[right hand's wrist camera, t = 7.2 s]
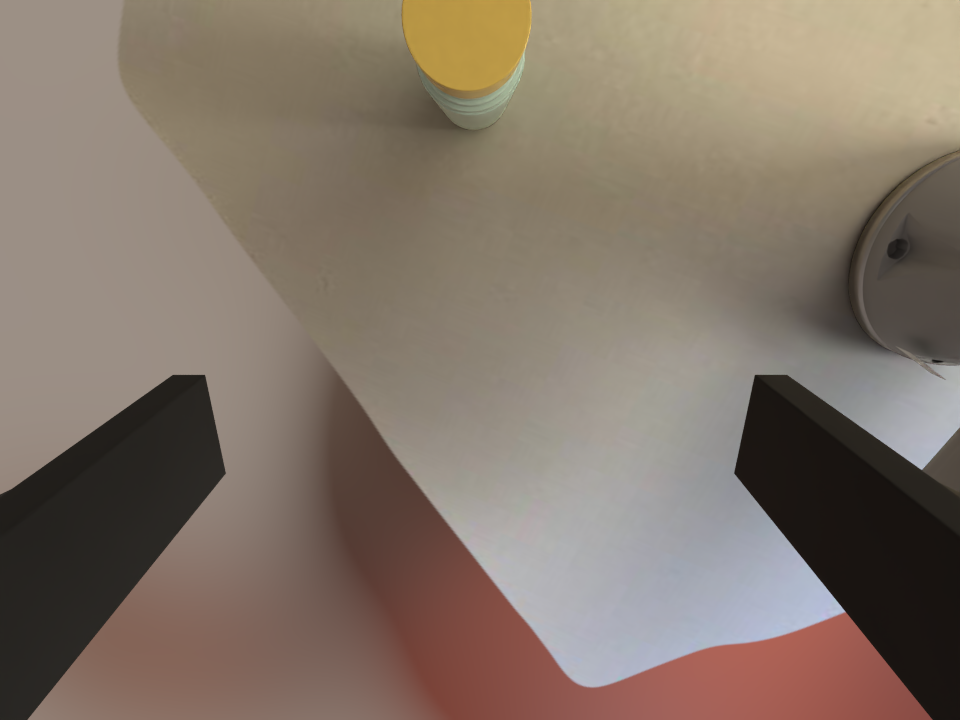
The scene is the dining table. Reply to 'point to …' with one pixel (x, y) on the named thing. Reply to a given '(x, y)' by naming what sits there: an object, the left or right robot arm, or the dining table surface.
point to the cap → (467, 42)
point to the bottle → (475, 102)
